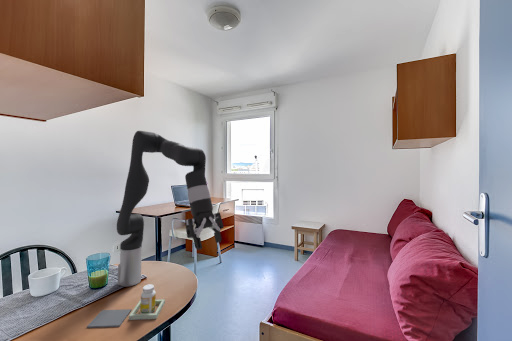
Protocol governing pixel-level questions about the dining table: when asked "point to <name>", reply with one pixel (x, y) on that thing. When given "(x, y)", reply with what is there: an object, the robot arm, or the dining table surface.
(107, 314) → the mat
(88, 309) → the dining table surface
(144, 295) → the supplement bottle
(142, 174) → the robot arm
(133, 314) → the pale green square frame
